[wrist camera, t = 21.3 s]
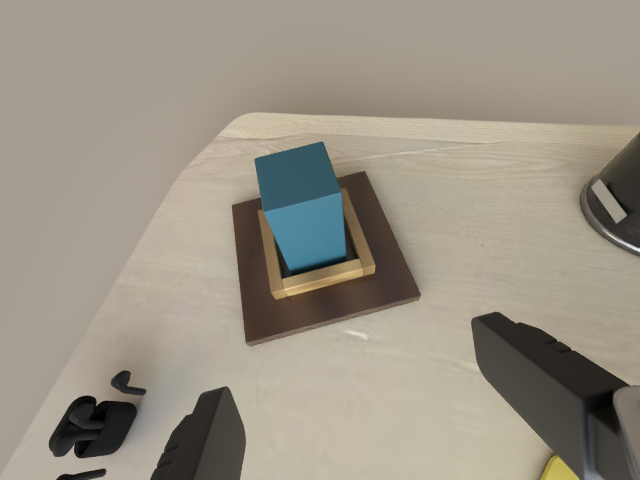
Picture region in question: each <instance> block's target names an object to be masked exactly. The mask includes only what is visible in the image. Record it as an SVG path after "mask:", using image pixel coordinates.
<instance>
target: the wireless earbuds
mask: <svg viewBox="0 0 640 480" xmlns="http://www.w3.org/2000/svg"><path fill="white" fill-rule="evenodd" d="M130 375H131V373H130V372H129V371H125V370H124V371H122V372H120V373H118V374H117V375H116V376H115V377H114V378H113V379H112V381H111V385H112V386H113V387H114V388H116V389H118V390H119V391H121V392H122V393H125V394H133V395H142V396H143V395H145V394H146V389H142V388H135V387H128V386H127V384H128V382H129V379H130ZM96 403H97V401H96V398H94V397H92V396H82V397H79V398H77V399H76V400H74V401H73V402H72V403H71V405H70V406H69V408H68V409H67V411H66V413H65V414H64V416H63V418H62V419H61V421H60V423H59V424H58V426H57V428H56V429H55V431H54V433H53V434H52V436H51V438H50V440H49V448H50V450H51V451H52V452H53V455H54V456H55V457H61V456H64V455H66V454H67V453H68V452H69V451H70V449H71V448H72V447H73V445H74V444H75V446H74V453H75V455H76V456H77V457H78V458H88V457H96V456H103V455H109V454H112V453H114V452H115V451H117V450H118V449H119V448H120V446H121V445H122V443H123V441H124V439H125V437H126V435H127V433H128V431H129V429H130V427H131V425H132V423H133V421H134V419H135V417H136V413H137V409H136V407H135V405H134V404H132V403H129V402H118V401H103V402H101V403H99V404H98V405H97V406H96ZM105 474H106V469H99V470H94V471H88V472H83V473H78V474H75V475H70V474H63V475H61V476H59V477H58V478H57V479H56V480H89V479H94V478H98V477H103V476H104V475H105Z"/></svg>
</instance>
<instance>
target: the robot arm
mask: <svg viewBox="0 0 640 480" xmlns="http://www.w3.org/2000/svg"><path fill="white" fill-rule="evenodd" d="M580 203H581V208H582V211H583V213H584V215H585V217H586V219H587V220H588V222H589V223H590V224H591V225H592V227H593V228H594V229H595V230H596V231H597V232H598V233H599V234H601V235H602V236H603V237H604V238H606V239H607V240H608V241H610V242H611V243H613V244H614V245H616V246H618V247H620V248H622V249H624V250H625V251H628V252H630V253H632V254H635V255H638V256H640V132H639V133H638V134H637V135H636V136H635V137H634V138H633V139H632V140H631V141H630V142H629V143H628V144H627V145H626V146H625V147H624V149H623V150H622V151H620V152H619V153H618V154H617V155H616V157H615V158H614V159H613V160H612V161H611V162H610V163H609V164H608V165H607V166H606V167H605V168H604V169H603V170H602V171H601V172H600V173H599V174H598V175H596V176H595V177H593V178H592V179H591V180H590V181H589V182H588V183H587V184H586V186H585V187H584V188H583V190H582V193H581V197H580ZM471 325H472V332H473V339H474V346H475V353H476V360H477V363H478V366H479V368H480V370H481V372H482V374H483V376H484V377H485V378H486V380H487V381H488V382H489V383H490V384H491V385H492V386H493V387H494V388H495V389H496V390H497V392H498V393H499V394H500V395H501V396H502V397H503V398H504V399H505V400H506V401H507V402H508V403H509V404H510V405H511V406H512V407H513V409H514V410H515V411H516V412H517V413H518V414H519V415H520V416H521V417H522V418H523V419H524V420H525V421H526V422H527V423H528V425H529V426H530V427H531V428H532V429H533V430H534V431H535V432H536V433H537V434H538V435H539V436H540V437H541V438H542V439H543V441H544V442H545V443H546V444H547V445H548V446H549V447H550V448H551V449H552V450H553V451H554V452H555V453H556V454H557V455H558V456H559V458H560V459H561V460H562V461H563V462H564V463H565V464H566V465H567V466H568V467H569V468H570V469H571V470H572V471H573V472H574V474H575V475H576V476H577V477H578V478H579V479H580V480H602V479H604V480H640V386H630V385H629V384H627V383H625V382H624V381H622V380H621V379H619V378H617V377H616V376H614V375H613V374H611V373H610V372H608V371H606V370H605V369H603V368H602V367H600V366H598V365H597V364H595V363H594V362H592V361H590V360H589V359H587V358H586V357H584V356H582V355H581V354H579V353H578V352H576V351H572V350H571V348H570V347H568V346H566V345H565V344H563V343H562V342H558V341H557V339H555V338H554V337H552V336H551V335H549V334H547V333H546V332H544V331H543V330H541V329H539V328H536V327H533V326H530V325H527V324H524V323H521V322H520V323H517V324H516V323H514V322H513V321H511V320H510V319H508V318H507V317H505V316H504V315H502V314H501V313H499V312H493V313H489V314H485V315H482V316H478V317H475V318H473V319H472V321H471ZM245 446H246V437H245V430H244V425H243V423H242V420H241V417H240V415H239V412H238V409H237V407H236V404H235V402H234V399H233V396H232V394H231V391H230V389H229V388H228V387H227V386H225V387H222V388H218V389H214V390H211V391H207V392H204V393H202V394H201V395H200V397H199V399H198V401H197V404H196V406H195V408H194V411H193V413H192V414H190V415H186V416H185V417H184V419H183V420H182V421H181V422H180V424H179V425H178V426H177V427H176V428H175V430H174V431H173V432H172V434H171V436H170V438H169V440H168V443H167V445H166V447H165V449H164V453H162V455H161V457H160V460H159V462H158V464H157V469H155V470H154V472H153V474H152V477H151V479H150V480H240V475H241V470H242V464H243V458H244V453H245Z"/></svg>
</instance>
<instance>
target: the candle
mask: <svg viewBox="0 0 640 480" xmlns="http://www.w3.org/2000/svg"><path fill="white" fill-rule="evenodd" d="M540 480H580V479H579V478H578V477H577V476H576V475H575V474H574V472H573V471H572V470H571V469H570V468H569V467H568V466H567V465H566V464H565V463H564V462H563V461H562V460H561V459H560V458H559V456H558V455H557V454H556V455H555V456H553V457H552V458H550V460H549V462H548V464H547V466H546V468H545V471H544V473H543V475H542V477H541V479H540ZM602 480H604V479H602Z"/></svg>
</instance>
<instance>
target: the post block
mask: <svg viewBox="0 0 640 480" xmlns="http://www.w3.org/2000/svg"><path fill="white" fill-rule="evenodd" d="M255 166H256V171H257V177H258V183H259V189H260V195H261V201H262V207H263V212H264V215H265V217H266V219H267V221H268V224H269V226H270V228H271V230H272V232H273V235H274V237H275V239H276V241H277V244H278V246H279V248H280V250H281V252H282V255H283V257H284V259H285V261H286V263H287V266H288V268H289V270H290V272H291V275H292V276H293V275H297V274H301V273H305V272H308V271H312V270H316V269H320V268H323V267H327V266H331V265H335V264H339V263H342V262H346V246H345V232H344V217H343V203H342V192H341V189H340V186H339V184H338V181H337V178H336V175H335V173H334V170H333V167H332V165H331V162H330V159H329V157H328V154H327V151H326V148H325V146H324V143H323V142H318V143H314V144H310V145H306V146H302V147H298V148H294V149H290V150H286V151H282V152H278V153H274V154H270V155H266V156H262V157H258V158H255Z"/></svg>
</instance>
